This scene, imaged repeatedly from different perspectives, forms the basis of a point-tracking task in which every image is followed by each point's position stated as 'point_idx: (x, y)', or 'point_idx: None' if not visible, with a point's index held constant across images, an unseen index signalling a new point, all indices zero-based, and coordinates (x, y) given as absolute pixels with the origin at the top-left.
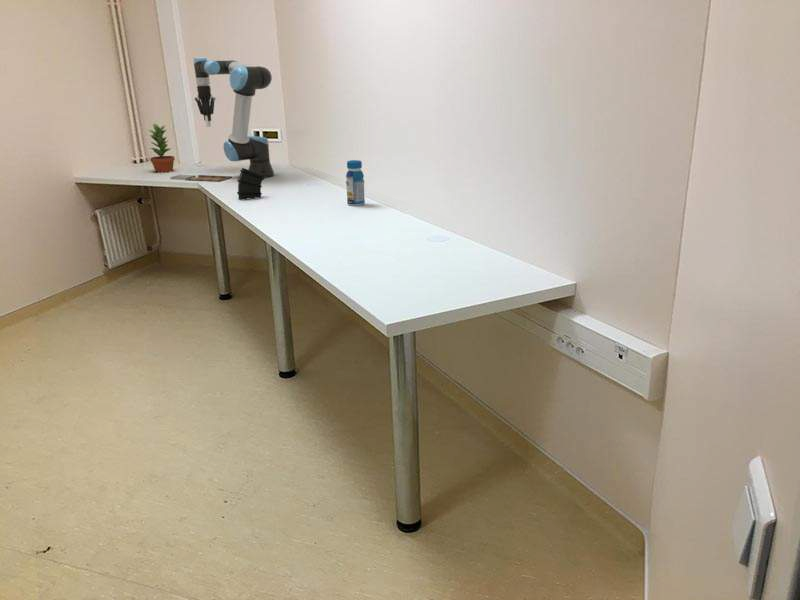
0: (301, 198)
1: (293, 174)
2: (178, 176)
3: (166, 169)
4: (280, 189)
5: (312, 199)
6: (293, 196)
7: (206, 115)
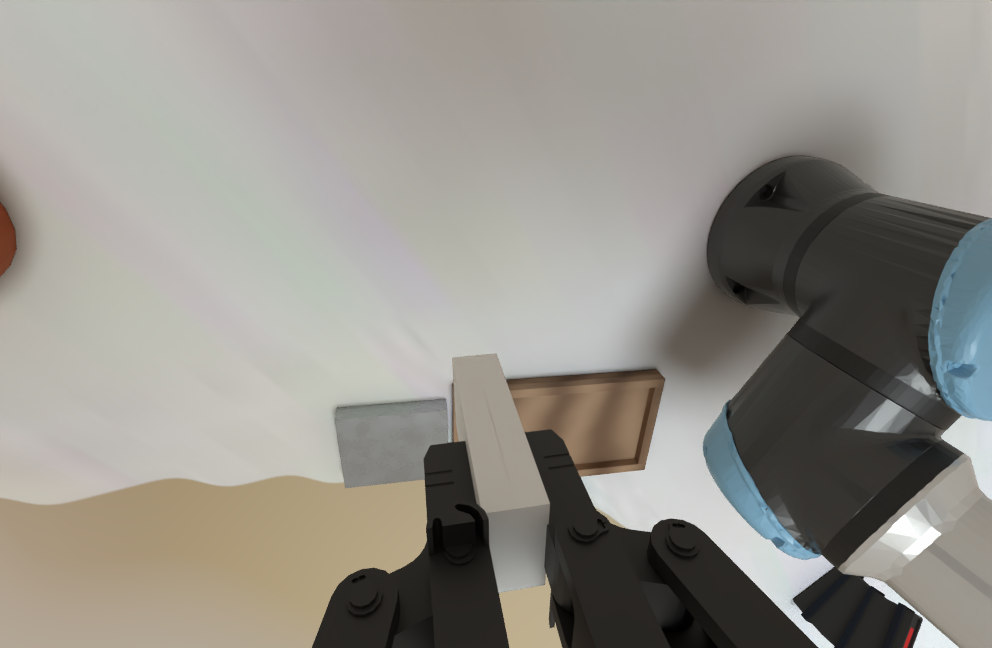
0: None
1: (950, 139)
2: (370, 458)
3: (1, 270)
4: None
5: None
6: None
7: (510, 570)
